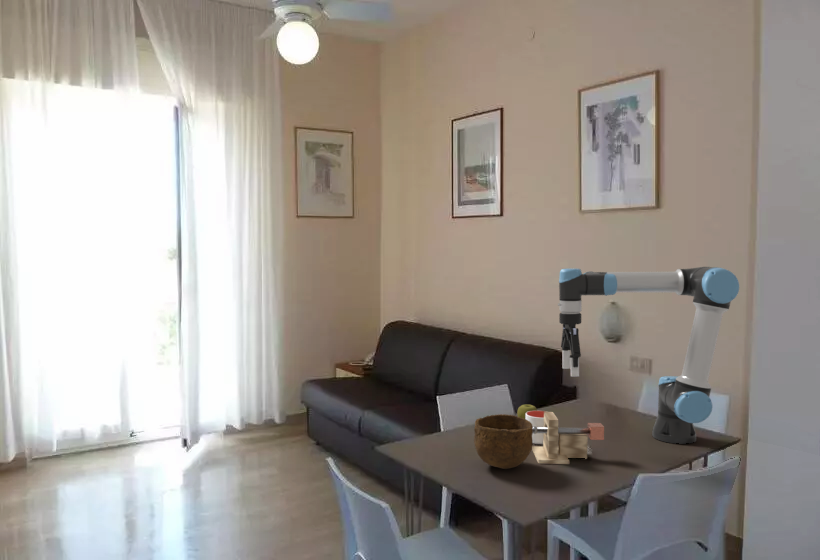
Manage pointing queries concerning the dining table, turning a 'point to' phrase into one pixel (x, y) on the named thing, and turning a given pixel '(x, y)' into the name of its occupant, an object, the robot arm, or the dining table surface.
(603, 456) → the dining table surface
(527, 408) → the apple
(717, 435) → the dining table surface
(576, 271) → the robot arm
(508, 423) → the bowl
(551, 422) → the slotted wooden stand
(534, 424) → the cup
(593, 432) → the metal rod with block
